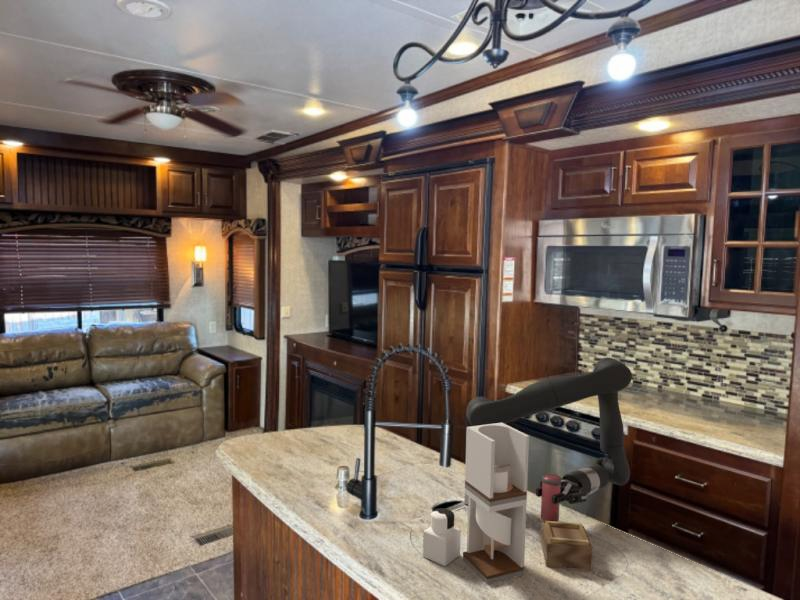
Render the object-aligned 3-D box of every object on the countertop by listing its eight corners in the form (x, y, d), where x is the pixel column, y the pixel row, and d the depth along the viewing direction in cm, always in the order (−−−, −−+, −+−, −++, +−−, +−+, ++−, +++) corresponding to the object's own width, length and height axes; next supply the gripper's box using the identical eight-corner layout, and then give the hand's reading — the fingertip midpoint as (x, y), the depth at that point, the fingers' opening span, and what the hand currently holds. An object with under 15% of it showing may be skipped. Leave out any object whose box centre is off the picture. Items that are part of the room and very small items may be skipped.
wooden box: (546, 566, 140) (547, 539, 140) (541, 544, 151) (542, 519, 151) (591, 570, 139) (592, 543, 138) (582, 547, 150) (583, 522, 149)
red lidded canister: (541, 521, 156) (543, 480, 155) (539, 513, 161) (541, 473, 160) (560, 523, 155) (562, 481, 154) (557, 514, 160) (559, 474, 159)
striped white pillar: (462, 559, 143) (466, 427, 140) (497, 551, 147) (502, 422, 144) (487, 584, 132) (491, 441, 129) (523, 574, 137) (529, 435, 134)
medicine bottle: (438, 546, 149) (439, 502, 148) (460, 555, 145) (461, 511, 144) (422, 556, 144) (423, 512, 143) (445, 567, 139) (446, 521, 138)
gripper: (561, 463, 171) (525, 475, 161) (603, 478, 160) (567, 492, 150) (560, 486, 172) (524, 500, 162) (601, 503, 161) (565, 519, 150)
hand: (545, 496), depth 156 cm, fingers closed on red lidded canister, 5 cm apart
